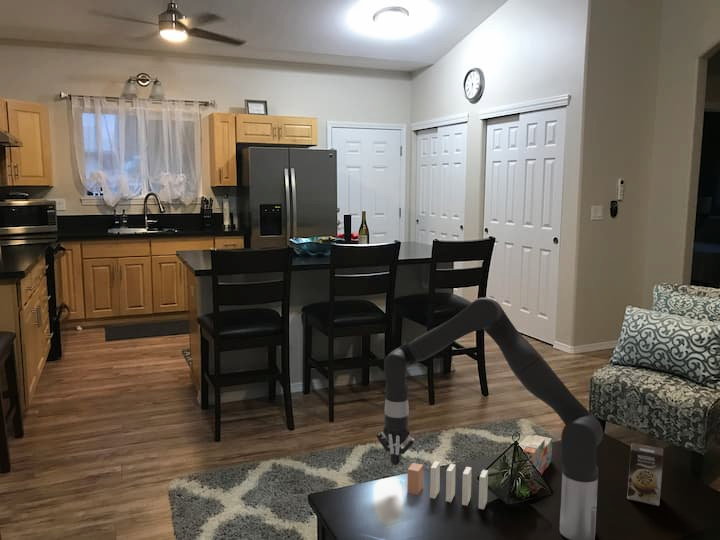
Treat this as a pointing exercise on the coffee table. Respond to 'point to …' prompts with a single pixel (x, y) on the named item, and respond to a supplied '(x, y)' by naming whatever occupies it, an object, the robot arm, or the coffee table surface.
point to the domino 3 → (450, 482)
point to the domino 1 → (415, 478)
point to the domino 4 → (466, 486)
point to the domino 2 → (435, 479)
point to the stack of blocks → (538, 451)
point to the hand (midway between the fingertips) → (395, 464)
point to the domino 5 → (483, 489)
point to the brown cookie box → (645, 474)
